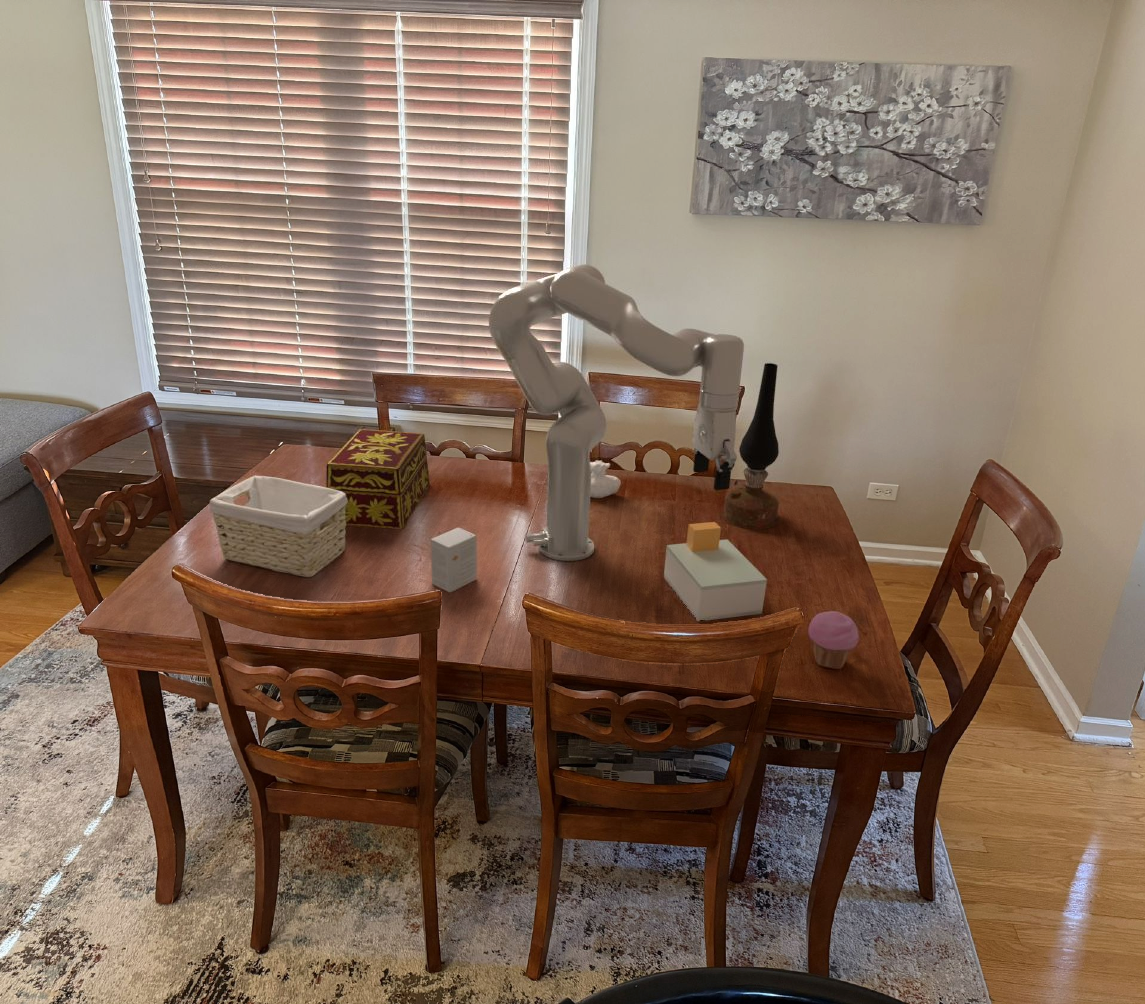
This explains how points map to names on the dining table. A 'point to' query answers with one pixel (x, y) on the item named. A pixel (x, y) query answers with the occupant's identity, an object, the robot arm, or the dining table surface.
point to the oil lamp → (757, 463)
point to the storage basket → (281, 524)
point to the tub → (713, 595)
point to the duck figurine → (602, 480)
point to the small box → (454, 559)
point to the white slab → (713, 559)
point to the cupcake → (832, 638)
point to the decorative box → (380, 477)
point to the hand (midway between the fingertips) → (710, 480)
